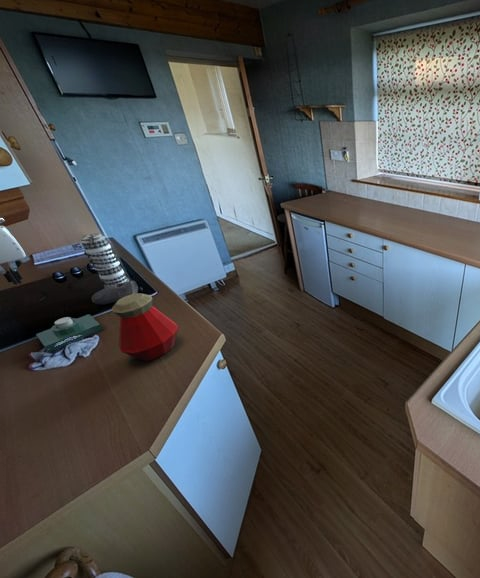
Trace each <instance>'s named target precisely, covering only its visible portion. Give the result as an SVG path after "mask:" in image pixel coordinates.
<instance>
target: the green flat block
mask: <svg viewBox="0 0 480 578" xmlns="http://www.w3.org/2000/svg"><path fill="white" fill-rule="evenodd" d="M71 319H72V321H73V322H74V323H73V324H72V325H70V326H68V327H65V328H61V329H58V328H57V326H56V325H55V324H54V325H52V327H51V328H49V329H46V330H43V331H41V332H38V333H36V334H35V335H36V337H37V338H38V339H39V340H40V342H41V344H42V345H43V346H44V348H45V349H46V350H47V349H49V348H51V347H52V346H54V345H55V344H56V343H58V342H61V341H64V340H65V339H67V338H69V337H73V336H78V335H82V336H80V337H77V338H76V339H73V340H70V341H68V342H65V343H63V344H61V345H58V346H56V347H53V348H51V349H49V350H47V352H49V353H51V352H54V351H56V350H59V349H61V348H63V347H65V346H67V344H68V343H69V342H72V343H75V342H77V341H79V340H82V339H85V338H87V337H89V336H92V335H94V334H96V333H98V332H101V331H104V328H103V327H102V325H101V324H100V323H99V322H98V321H97V320H96V319H95V318H94V317H93V316H92V315H91V314H86V315H83V316H81V317H78V318H76V317H75V318H74V317H71ZM74 341H75V342H74ZM68 345H69V344H68Z"/></svg>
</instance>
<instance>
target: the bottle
mask: <svg viewBox="0 0 480 578" xmlns="http://www.w3.org/2000/svg"><path fill="white" fill-rule="evenodd" d="M111 311H112V313H114V314H115V315H117V316H118V317H119V319H120V320H119V334H118V335H119V336H118V347H119V350H120V352H121V353H123V354H126V355H128V356H130V357H133V358H136V359H138V360H140V361H145V362H146V361H147V362H148V361H152V360H156V359H159V358H160V357H162V356H164V355H166V354H167V353H169V352H170V351H171V350H172V349H173V347H174V346H175V344H176V340H177V335H178V333H179V332H178V331H179V327H178V325H177V324H176V322H175V321H174V320H172V319H170V317H168V316H166V314H164V313H163V312H161V311H160V310H159V309H157V308H156V307H155V306H153V297H152V296H151V295H150V294H146V293H138V292H137V293H136V294H131V295H128V296H125V297H123V298H121V299H120V300H118V301H117V302H115V303H114V304H113V306H112V308H111Z"/></svg>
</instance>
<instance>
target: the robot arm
mask: <svg viewBox="0 0 480 578" xmlns="http://www.w3.org/2000/svg"><path fill="white" fill-rule="evenodd" d="M3 223H6V220H5V219H4V218H3V217H0V224H3ZM29 261H31V258H30V257H29V256H28V255H27V254H26V253H25V251H24V249H23V247H22V246H21V244H20V243H19V242H18V240H17V239H16V238H15V237H14V235H13V233H11V232H10V231H9V229H8V228H6V226H5V225H0V274H1V275H3V277H4V278H5V279H6V281H7V283H9V284H10V283H12V284H13V285H18V284H22V281H21V280H23V279H24V278H23V277H22V276H21V274H20V272H19V271H18V270H19V268H20V266H21V265H22V264H24V263H27V262H29ZM2 264H8V266H9V268H8V269H9V270H7V269H6V268H4V267H3V266H2Z"/></svg>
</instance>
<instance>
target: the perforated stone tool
mask: <svg viewBox="0 0 480 578" xmlns="http://www.w3.org/2000/svg"><path fill="white" fill-rule="evenodd" d="M138 292H139V286H138V284H137V282H136V281H135V280H129V281H128V282H124V283H120V284H116V285H113V286H110V287H107V288H105V287H104V288H103V289H100V290H98V291H97V292H95V293H93V295H92V296H91V302H92V303H93V304H95V305H98V306H99V305H100V306H101V305H102V306H103V305H110V304H112V303H114V304H115V303H116V302H117V301H118V300H120V299H121V298H123V297H125V296H128V295H131V294H136V293H138Z"/></svg>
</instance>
